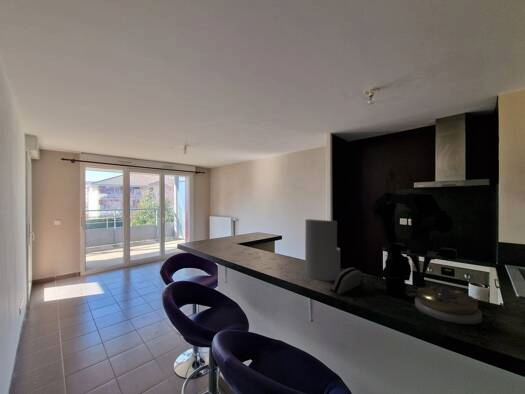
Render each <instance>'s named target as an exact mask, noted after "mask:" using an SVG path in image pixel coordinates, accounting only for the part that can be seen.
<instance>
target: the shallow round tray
mask: <svg viewBox="0 0 525 394" xmlns="http://www.w3.org/2000/svg"><path fill="white" fill-rule="evenodd" d="M464 292H465V291H462V290H459V289H457V290H456V289H455V290H453V289H450V287H449V286H444V285H441V287H438V286H436V285H429V287H428V286H426V287H425V286H424V287H418V288H417V296H418V300H419V301H420V302H421V303H422V304H424V305H426V306H428V307H430V308H433V309H435V310H439V311H442V312H446V313H451V314H458V315H474V314H476V313H477V312H478V309H479V308H478V302H479V300H478V298H475V297H473V296H471V295H469V294H466V293H464Z"/></svg>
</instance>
